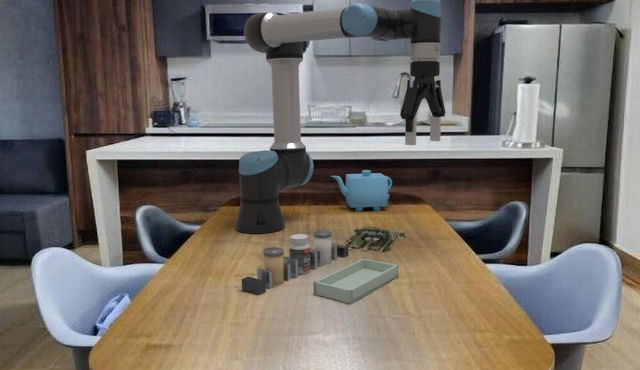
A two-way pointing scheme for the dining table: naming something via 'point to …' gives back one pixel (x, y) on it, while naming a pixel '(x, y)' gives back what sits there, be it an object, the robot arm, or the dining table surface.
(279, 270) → the cylinder
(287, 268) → the clip row
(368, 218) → the dining table surface
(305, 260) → the pill bottle
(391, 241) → the circuit board
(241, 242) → the dining table surface
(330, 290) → the tray
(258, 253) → the dining table surface
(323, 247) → the grey lidded jar
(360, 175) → the teapot
